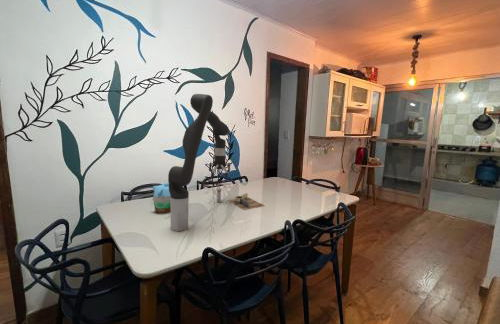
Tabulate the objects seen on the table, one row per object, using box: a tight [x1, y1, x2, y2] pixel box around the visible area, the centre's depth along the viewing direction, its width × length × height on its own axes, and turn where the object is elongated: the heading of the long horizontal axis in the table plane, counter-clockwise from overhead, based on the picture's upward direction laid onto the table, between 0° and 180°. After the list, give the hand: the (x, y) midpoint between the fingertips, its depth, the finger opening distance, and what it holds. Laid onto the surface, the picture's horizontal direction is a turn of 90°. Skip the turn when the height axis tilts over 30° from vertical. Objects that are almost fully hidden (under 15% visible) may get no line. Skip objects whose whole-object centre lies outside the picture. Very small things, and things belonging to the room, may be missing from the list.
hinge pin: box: [215, 187, 223, 204], centre depth 171 cm, size 4×4×11 cm
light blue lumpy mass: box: [152, 182, 170, 197], centre depth 171 cm, size 18×16×14 cm
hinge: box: [234, 192, 250, 208], centre depth 173 cm, size 18×14×4 cm
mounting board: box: [227, 196, 266, 211], centre depth 173 cm, size 22×18×1 cm
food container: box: [152, 195, 170, 214], centre depth 151 cm, size 12×6×10 cm, turn 105°
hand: (219, 177), depth 169 cm, fingers open, 8 cm apart
